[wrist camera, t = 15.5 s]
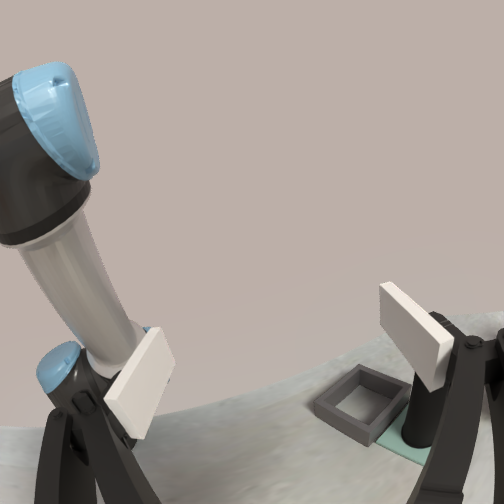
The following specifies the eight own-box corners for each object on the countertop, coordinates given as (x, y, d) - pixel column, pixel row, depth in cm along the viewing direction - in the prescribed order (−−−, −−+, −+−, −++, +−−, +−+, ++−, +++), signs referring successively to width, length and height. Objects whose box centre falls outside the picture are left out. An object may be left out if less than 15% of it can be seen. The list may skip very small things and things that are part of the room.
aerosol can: (445, 446, 25) (481, 353, 21) (398, 450, 29) (419, 361, 24) (443, 410, 32) (467, 317, 28) (401, 414, 36) (415, 323, 31)
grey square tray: (315, 416, 44) (313, 401, 43) (358, 379, 50) (358, 363, 49) (367, 447, 33) (369, 433, 32) (408, 400, 39) (411, 384, 38)
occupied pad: (375, 443, 33) (376, 441, 33) (412, 399, 39) (412, 397, 39) (431, 469, 23) (432, 468, 23) (463, 418, 29) (464, 416, 29)
